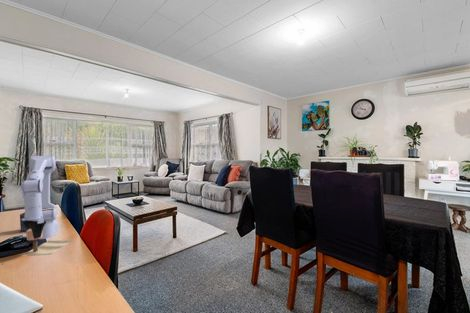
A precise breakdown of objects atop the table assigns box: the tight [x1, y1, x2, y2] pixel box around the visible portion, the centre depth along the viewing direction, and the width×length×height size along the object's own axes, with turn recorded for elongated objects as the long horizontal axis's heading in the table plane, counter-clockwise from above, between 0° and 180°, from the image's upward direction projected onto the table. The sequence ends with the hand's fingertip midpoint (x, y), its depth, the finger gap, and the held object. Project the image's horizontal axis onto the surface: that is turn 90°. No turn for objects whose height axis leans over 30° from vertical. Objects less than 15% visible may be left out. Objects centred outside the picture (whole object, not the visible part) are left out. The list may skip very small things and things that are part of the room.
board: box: [20, 239, 73, 257], centre depth 104 cm, size 16×12×6 cm
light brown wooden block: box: [25, 229, 43, 241], centre depth 99 cm, size 5×5×4 cm
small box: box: [19, 211, 27, 233], centre depth 131 cm, size 11×6×10 cm, turn 105°
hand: (34, 236), depth 99 cm, fingers closed on light brown wooden block, 5 cm apart
